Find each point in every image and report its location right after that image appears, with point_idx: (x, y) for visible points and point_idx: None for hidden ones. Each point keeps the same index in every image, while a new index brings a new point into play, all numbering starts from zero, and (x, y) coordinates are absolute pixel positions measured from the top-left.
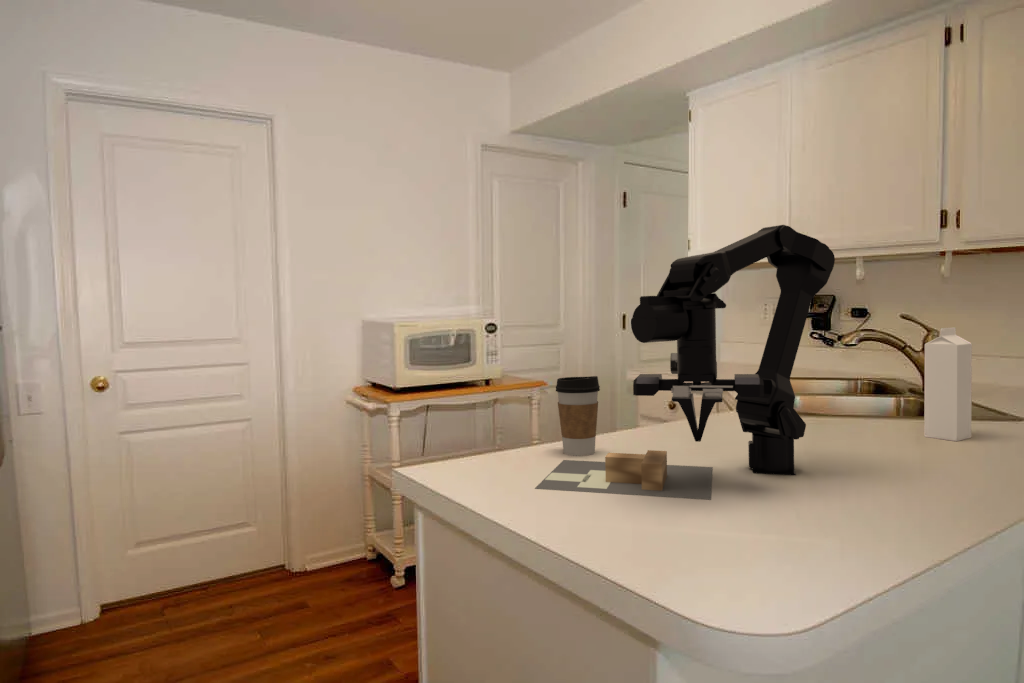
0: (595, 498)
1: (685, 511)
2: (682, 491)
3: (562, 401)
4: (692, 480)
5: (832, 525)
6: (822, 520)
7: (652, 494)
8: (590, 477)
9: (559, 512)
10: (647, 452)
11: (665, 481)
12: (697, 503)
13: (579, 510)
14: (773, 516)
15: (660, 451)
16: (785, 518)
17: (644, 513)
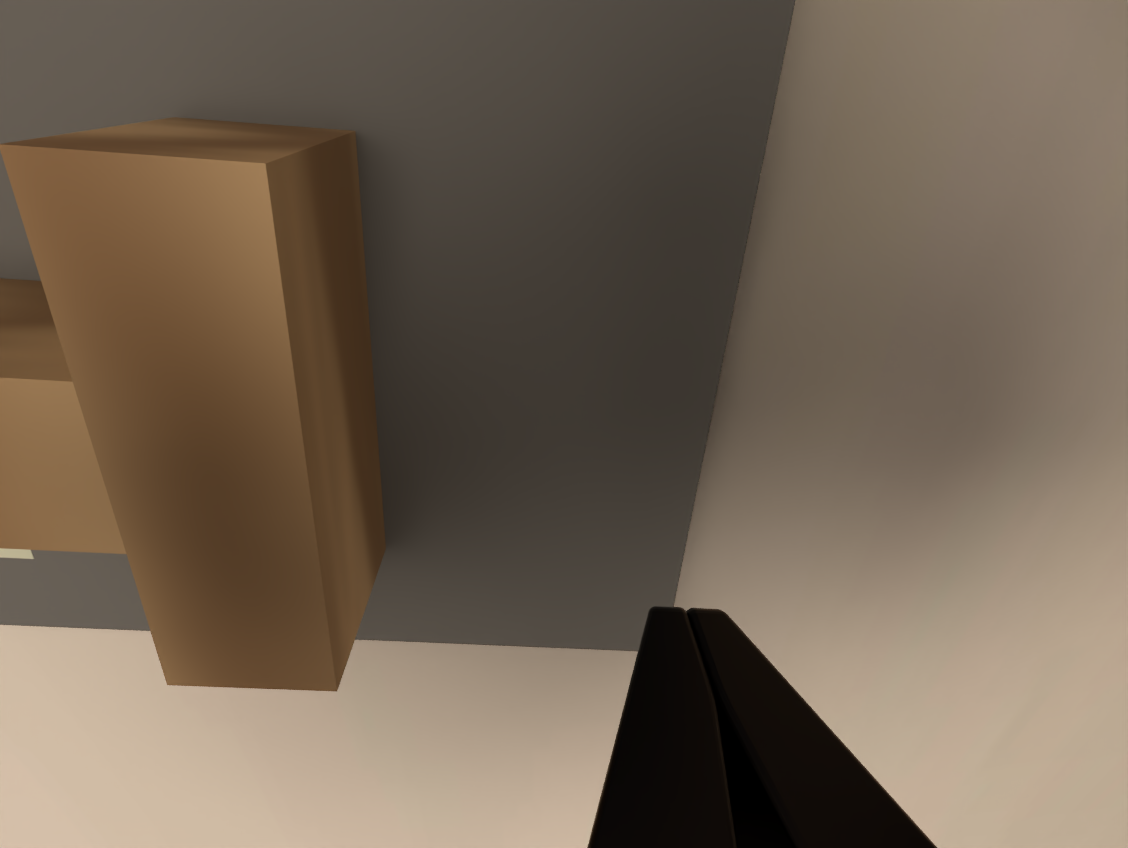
0: (50, 655)
1: (531, 748)
2: (511, 547)
3: None
4: (584, 278)
5: (1086, 798)
6: (1083, 763)
7: None
8: None
9: (4, 817)
10: (50, 283)
11: (373, 341)
12: (591, 656)
13: (71, 791)
14: (901, 751)
15: (191, 207)
16: (941, 763)
17: (358, 786)
